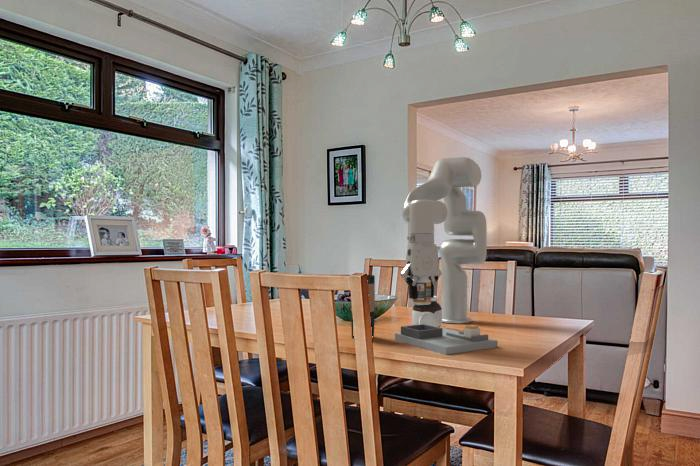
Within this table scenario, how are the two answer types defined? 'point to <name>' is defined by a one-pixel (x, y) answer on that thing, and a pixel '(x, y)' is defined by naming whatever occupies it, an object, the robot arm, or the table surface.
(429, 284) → the pill bottle
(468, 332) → the toggle
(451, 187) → the robot arm
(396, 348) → the table surface
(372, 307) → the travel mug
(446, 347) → the panel
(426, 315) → the spread jar
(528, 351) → the table surface
